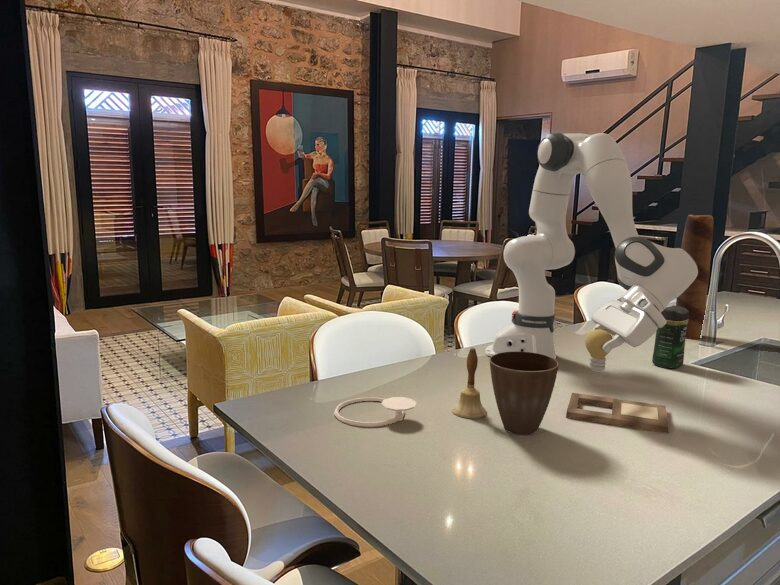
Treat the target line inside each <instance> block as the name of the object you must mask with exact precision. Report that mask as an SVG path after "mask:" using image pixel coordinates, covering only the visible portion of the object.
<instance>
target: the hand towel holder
mask: <svg viewBox="0 0 780 585" xmlns="http://www.w3.org/2000/svg"><path fill="white" fill-rule="evenodd" d="M362 401H366V402H373V401H380V402H379V403H381V405H382V406H383V407H384V408H385V409H387V410H388V411H389V410H390V411H394V412H395V415H394V418H391V419H387V420H381V421H372V422H371V421H365V422H364V421H357V420H352V419H348V418H346V417H344V416H341V415H340V412H339V411H340V409H342V408H344V407H346V406H348V405H351V404H355V402H356V403H362ZM416 404H417V401H415V400H414V399H413V398H409V397H406V396H392V397H388V398H383V397H382V398H381V397H358V398H352V399H348V400H345V401H343V402H341V403H339V404H338V405H337V406H336V407H335V409H334V411H333V412H334V416H335V418H337V420H338V421H340V422H342V423H344V424H347V425H349V426H353V427H359V428H360V427H365V428H377V427H378V428H379V427H385V426H389V425H392V423H393V424H396V423H397V422H402V421H403V419H404V416H405V414H406V411H410V410H413V409H414V408H415V407H416ZM401 420H402V421H401ZM388 424H389V425H388ZM384 425H385V426H384Z"/></svg>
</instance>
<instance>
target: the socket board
mask: <svg viewBox="0 0 780 585" xmlns="http://www.w3.org/2000/svg"><path fill="white" fill-rule="evenodd" d="M580 404H583V405H589V406H596V407H603V408H609V409H610V408H611V413H608V412H603V411H598V410H597V411H596V410H588V409H581V408H578V407H579V405H580ZM565 418H566V419H573V420H579V421H586V422H593V423H600V424H604V425H605V424H606V425H613V426H618V427H625V428H630V429H631V428H632V429H638V430H646V431H651V432H658V433H663V434H669V429H670V426H669V425H670V424H669V418H668V412H667V406H666V405H665V404H664V405H663V404H657V403H649V402H640V401H635V400H627V399H619V398H612V397H608V396H607V397H606V396H598V395H591V394H584V393H577V392H571V395H570V398H569V403H568V405H567V409H566V417H565Z"/></svg>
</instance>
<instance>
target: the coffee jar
mask: <svg viewBox="0 0 780 585" xmlns="http://www.w3.org/2000/svg"><path fill="white" fill-rule="evenodd" d="M661 314H662V315H663V317H664V318H665V320H666V321H667V323H666V324H665V325H664V326H663V327H661V328H659V327H658V329H657V331H656V332H655V340H654V346H653V352H652V358H651V359H652V360H651V362H652V364H653V365H655V366H657V367H661V368H664V369H665V368H667V369H668V368H670V369H676V368H679V367H681V366H683V364H684V362H685V361H684V360H685V348H686V339H687V338H686V330H687V324H688V318H689V311H688V310H687V309H686V308H685V307H680V306H676V305H671V306H668V307H667V306H666V308H665V309H664V310H663V311H662V312H661Z"/></svg>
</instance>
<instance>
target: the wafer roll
mask: <svg viewBox="0 0 780 585" xmlns="http://www.w3.org/2000/svg"><path fill="white" fill-rule="evenodd" d="M714 221H715V220H714V217H713V215H711V214H704V215H703V214H701V215H695V214H688V215H687V218H686V221H685V224H684V229H683V233H682V234H683V236H682V239H681V247H680V248H681V249H683V250H685V251H686V252H688V253H689V254H690V255H691V256H692V258H693V259H694V260H695V262H696V264H697V267H698V275H697V277H696V279H695V280H694V281H693V283H692V284H691V285H690V286H689V287H688V288H687V289H686V290H685V291H684V292H683V293H682V294H681V295H680V296H679V297H677V298H676V299H675V301H676V302H675V306H680V307H685V308H686V309H687V310H688V311H689V318H688V324H687V330H686V338H685V339H689V338H690V340H692V339H693V340H694V339H695V340H700V339H699V338H700V335H701V330H702V324H703V320H704V315H705V310H706V311H707V294H708V288H709V282H710V267H711V259H712V257H711V256H712V255H711V253H712V248H713V247H712V246H713V242H714V241H713V238H714Z"/></svg>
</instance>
